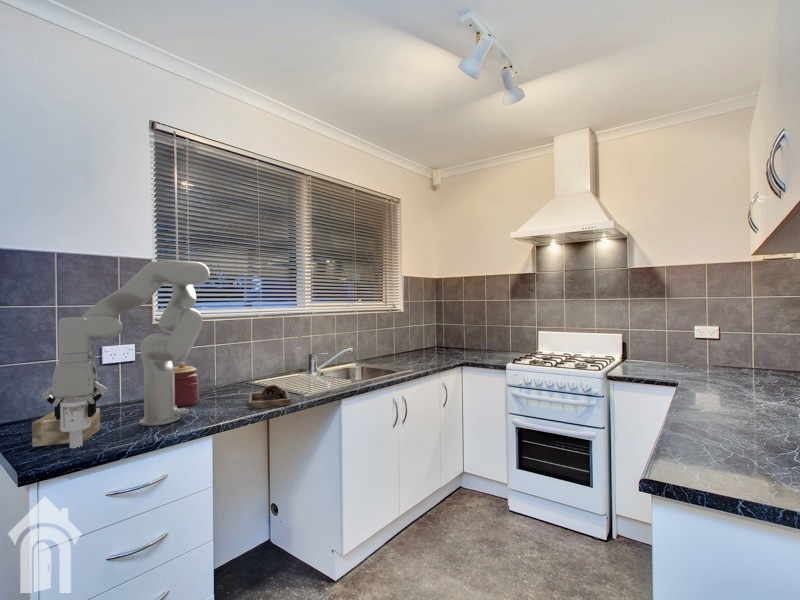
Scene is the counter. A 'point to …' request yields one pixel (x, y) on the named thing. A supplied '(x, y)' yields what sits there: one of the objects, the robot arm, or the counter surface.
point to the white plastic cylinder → (74, 419)
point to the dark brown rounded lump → (272, 393)
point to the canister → (186, 385)
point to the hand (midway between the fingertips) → (75, 417)
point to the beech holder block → (59, 430)
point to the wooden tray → (267, 403)
